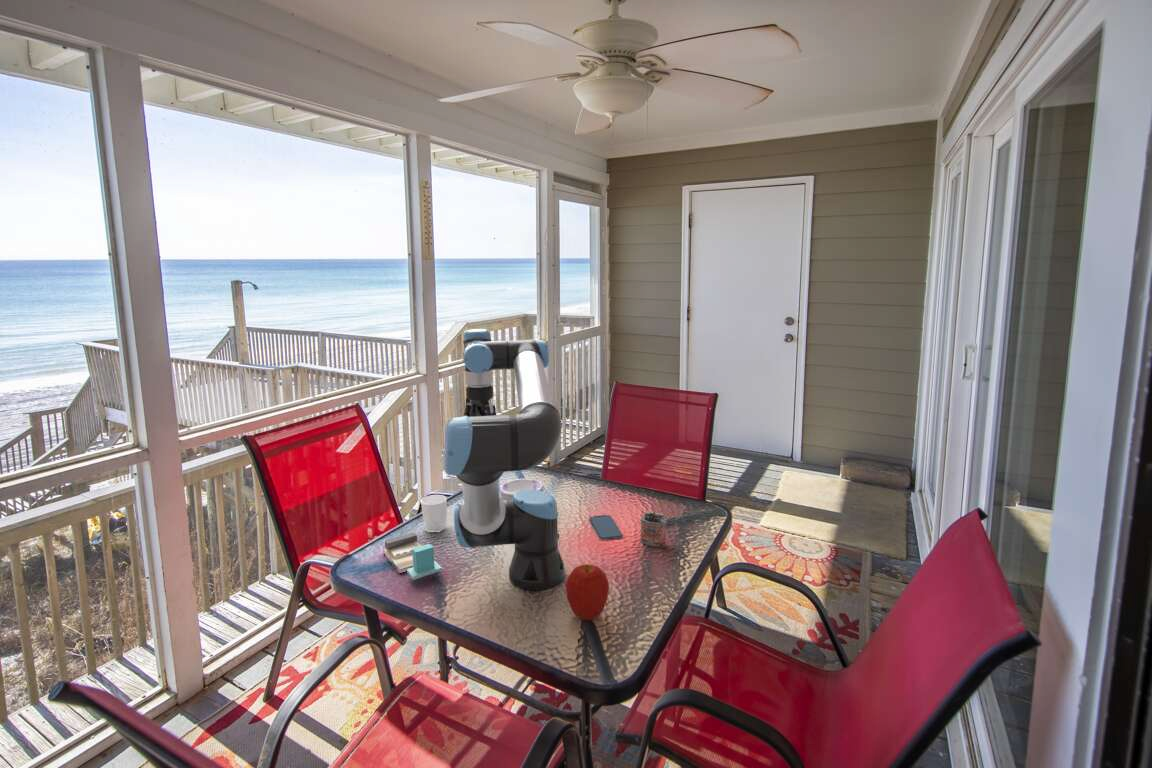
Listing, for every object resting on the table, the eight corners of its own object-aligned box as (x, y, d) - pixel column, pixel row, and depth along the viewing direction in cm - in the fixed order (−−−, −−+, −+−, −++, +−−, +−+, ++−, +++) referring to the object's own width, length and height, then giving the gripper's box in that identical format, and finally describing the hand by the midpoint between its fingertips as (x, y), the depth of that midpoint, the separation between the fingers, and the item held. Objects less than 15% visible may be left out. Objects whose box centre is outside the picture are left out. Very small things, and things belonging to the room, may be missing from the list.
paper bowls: (494, 503, 208) (493, 481, 207) (534, 495, 215) (534, 475, 213) (508, 519, 195) (507, 497, 193) (550, 511, 201) (550, 489, 200)
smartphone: (599, 538, 180) (588, 516, 194) (599, 543, 180) (588, 521, 194) (623, 535, 181) (610, 514, 195) (623, 540, 182) (610, 518, 196)
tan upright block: (638, 542, 178) (638, 512, 176) (642, 538, 181) (642, 507, 179) (663, 548, 174) (664, 517, 172) (667, 543, 177) (668, 512, 175)
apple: (607, 603, 147) (607, 552, 144) (610, 627, 137) (611, 573, 134) (565, 604, 146) (564, 553, 144) (566, 629, 137) (565, 574, 134)
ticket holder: (434, 563, 167) (433, 549, 166) (399, 574, 161) (398, 560, 160) (416, 544, 178) (415, 531, 177) (383, 554, 173) (382, 540, 172)
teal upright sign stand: (441, 570, 160) (440, 547, 158) (413, 579, 155) (411, 556, 154) (434, 562, 164) (433, 540, 162) (406, 571, 159) (404, 548, 158)
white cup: (433, 536, 183) (432, 506, 181) (417, 529, 188) (415, 500, 186) (453, 527, 190) (451, 498, 188) (437, 521, 194) (435, 492, 192)
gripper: (513, 390, 157) (515, 465, 162) (472, 376, 177) (475, 443, 181) (487, 394, 153) (491, 471, 157) (448, 379, 173) (452, 448, 177)
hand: (482, 456), depth 169 cm, fingers open, 13 cm apart
